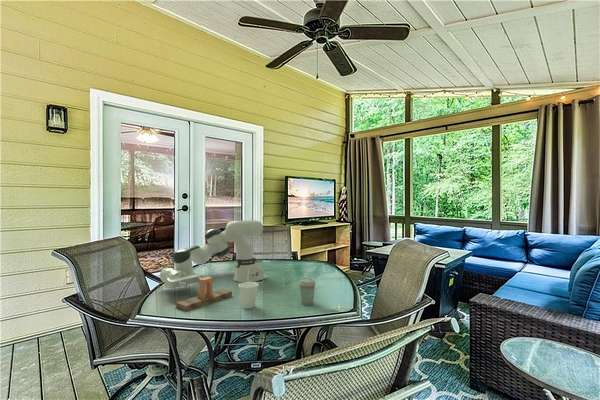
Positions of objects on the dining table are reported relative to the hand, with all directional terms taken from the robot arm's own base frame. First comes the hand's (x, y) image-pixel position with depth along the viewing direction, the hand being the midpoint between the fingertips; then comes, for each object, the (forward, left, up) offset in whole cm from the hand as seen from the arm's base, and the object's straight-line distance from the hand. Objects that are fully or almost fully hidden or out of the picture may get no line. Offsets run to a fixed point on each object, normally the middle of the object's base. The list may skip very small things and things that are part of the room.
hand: (193, 282), depth 159 cm
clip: (-3, +10, -8) cm, 13 cm away
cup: (-17, +30, -8) cm, 35 cm away
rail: (-3, +10, -8) cm, 13 cm away
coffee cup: (-43, +44, -8) cm, 62 cm away
